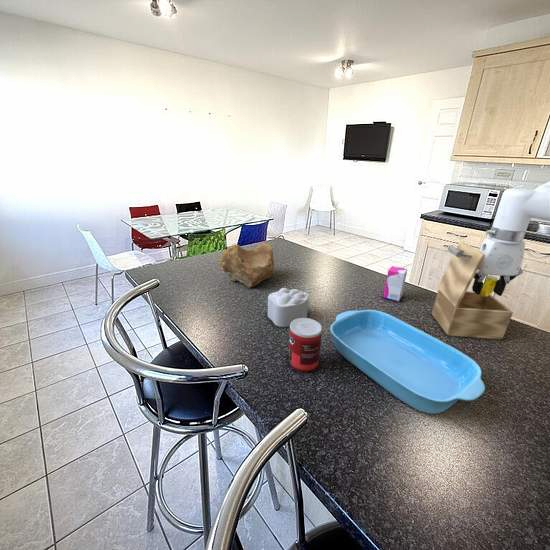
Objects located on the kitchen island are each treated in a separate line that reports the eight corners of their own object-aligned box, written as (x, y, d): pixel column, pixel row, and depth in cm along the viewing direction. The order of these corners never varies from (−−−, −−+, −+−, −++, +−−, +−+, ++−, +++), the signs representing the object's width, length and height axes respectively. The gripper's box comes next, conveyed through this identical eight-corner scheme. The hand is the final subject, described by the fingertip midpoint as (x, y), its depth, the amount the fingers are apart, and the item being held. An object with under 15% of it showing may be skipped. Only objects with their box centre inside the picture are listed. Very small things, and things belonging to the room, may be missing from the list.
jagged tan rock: (232, 297, 109) (233, 261, 102) (216, 278, 121) (216, 244, 114) (284, 286, 120) (289, 253, 113) (265, 269, 133) (268, 238, 126)
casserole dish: (493, 394, 67) (504, 370, 64) (444, 446, 55) (454, 418, 52) (364, 321, 94) (367, 301, 91) (312, 344, 82) (314, 323, 79)
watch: (486, 299, 86) (492, 281, 83) (476, 295, 88) (482, 277, 85) (495, 294, 89) (501, 276, 86) (484, 291, 91) (490, 273, 89)
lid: (462, 241, 89) (445, 237, 89) (485, 254, 77) (466, 250, 77) (439, 288, 96) (424, 284, 96) (457, 307, 84) (439, 303, 84)
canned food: (296, 348, 80) (298, 314, 76) (323, 359, 77) (327, 323, 72) (282, 364, 74) (284, 328, 70) (311, 376, 71) (314, 339, 66)
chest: (479, 317, 98) (488, 292, 94) (502, 339, 87) (513, 312, 83) (431, 313, 99) (438, 289, 96) (447, 335, 88) (455, 308, 84)
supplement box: (402, 296, 111) (408, 268, 106) (398, 302, 106) (405, 273, 102) (386, 292, 114) (391, 265, 109) (382, 298, 109) (387, 269, 105)
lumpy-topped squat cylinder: (264, 313, 97) (264, 289, 94) (297, 304, 103) (298, 282, 100) (279, 329, 89) (280, 304, 86) (314, 319, 95) (316, 295, 91)
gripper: (481, 237, 78) (462, 297, 85) (550, 240, 77) (525, 301, 84) (467, 230, 85) (451, 286, 92) (530, 232, 83) (508, 289, 91)
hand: (486, 292), depth 88 cm, fingers closed on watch, 5 cm apart
